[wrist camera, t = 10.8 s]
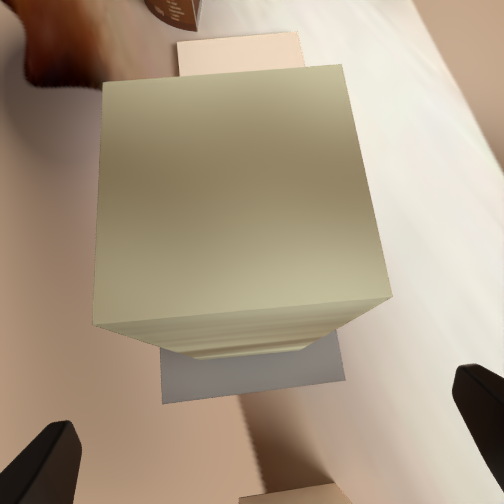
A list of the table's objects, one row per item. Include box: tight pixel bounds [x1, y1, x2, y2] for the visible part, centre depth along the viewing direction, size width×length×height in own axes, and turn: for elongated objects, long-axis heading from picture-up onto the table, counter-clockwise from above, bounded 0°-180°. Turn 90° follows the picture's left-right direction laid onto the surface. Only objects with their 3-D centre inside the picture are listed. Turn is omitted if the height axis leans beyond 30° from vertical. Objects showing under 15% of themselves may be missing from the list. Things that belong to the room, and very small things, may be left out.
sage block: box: [92, 64, 393, 360], centre depth 13 cm, size 5×5×13 cm
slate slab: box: [160, 330, 346, 404], centre depth 21 cm, size 9×9×3 cm
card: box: [177, 31, 305, 76], centre depth 26 cm, size 12×9×1 cm
